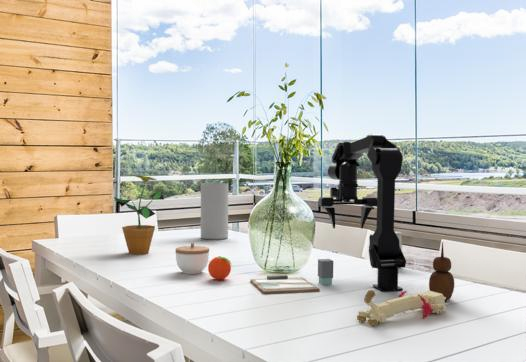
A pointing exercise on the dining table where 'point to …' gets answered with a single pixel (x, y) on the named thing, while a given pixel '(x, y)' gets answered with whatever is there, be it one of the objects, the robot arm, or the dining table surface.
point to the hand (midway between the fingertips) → (347, 228)
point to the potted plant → (140, 234)
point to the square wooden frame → (283, 284)
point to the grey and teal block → (325, 271)
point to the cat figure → (402, 306)
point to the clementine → (219, 268)
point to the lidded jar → (192, 258)
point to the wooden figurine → (442, 276)
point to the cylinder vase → (214, 211)
